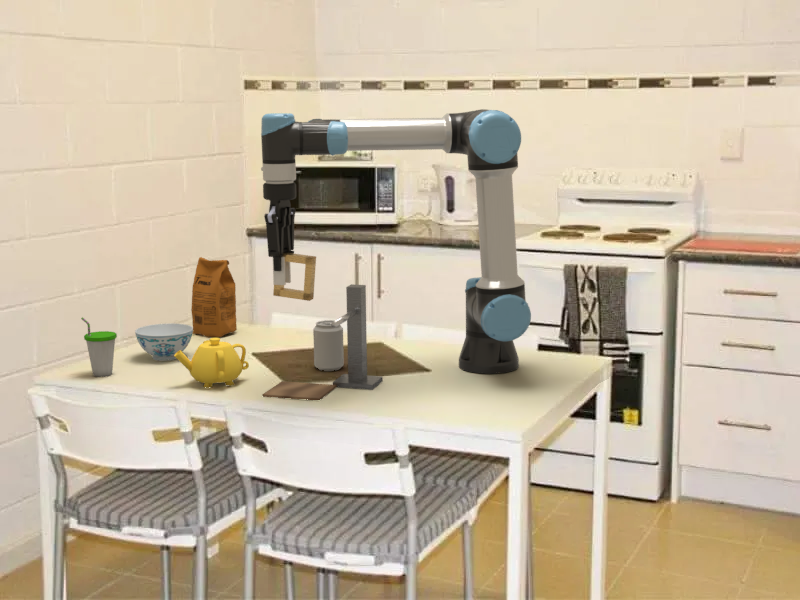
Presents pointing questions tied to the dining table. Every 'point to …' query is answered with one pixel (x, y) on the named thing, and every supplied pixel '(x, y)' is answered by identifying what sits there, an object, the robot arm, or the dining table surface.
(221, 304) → the coffee package
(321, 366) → the can
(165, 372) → the dining table surface
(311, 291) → the c link
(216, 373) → the teapot
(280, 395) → the walnut board
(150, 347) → the chinaware
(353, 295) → the stand
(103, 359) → the cup
